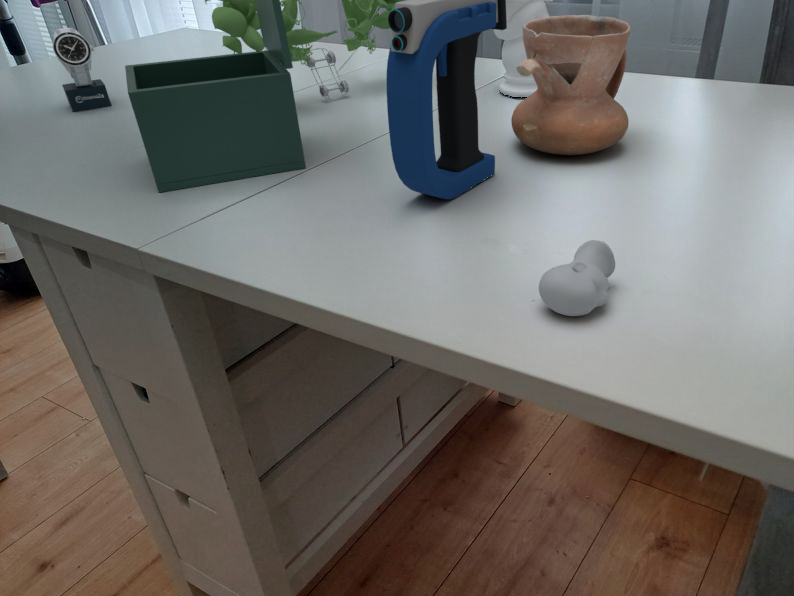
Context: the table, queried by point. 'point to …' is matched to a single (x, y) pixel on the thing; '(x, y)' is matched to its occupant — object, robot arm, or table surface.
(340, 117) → the table surface
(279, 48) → the lid
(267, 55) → the dark green hollow box
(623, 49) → the ceramic jug
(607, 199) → the table surface
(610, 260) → the smooth white sculpture
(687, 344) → the table surface
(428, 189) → the handheld scanner
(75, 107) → the watch
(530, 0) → the cherub figurine
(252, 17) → the plant cuttings
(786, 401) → the table surface
